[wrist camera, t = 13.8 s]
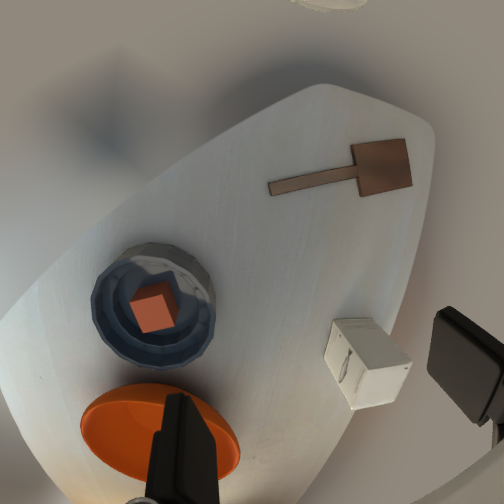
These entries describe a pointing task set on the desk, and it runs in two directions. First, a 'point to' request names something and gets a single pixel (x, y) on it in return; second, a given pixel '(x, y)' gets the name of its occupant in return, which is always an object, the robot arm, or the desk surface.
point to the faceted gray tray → (185, 294)
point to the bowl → (145, 428)
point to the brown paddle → (361, 170)
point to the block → (154, 307)
